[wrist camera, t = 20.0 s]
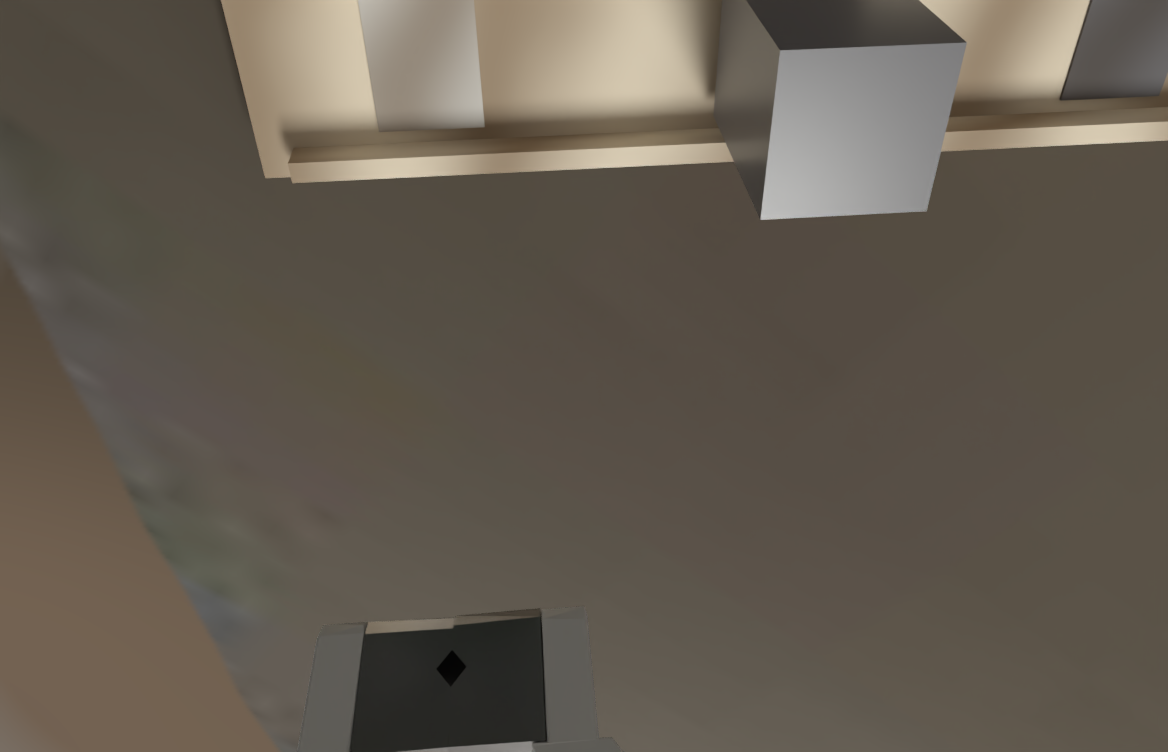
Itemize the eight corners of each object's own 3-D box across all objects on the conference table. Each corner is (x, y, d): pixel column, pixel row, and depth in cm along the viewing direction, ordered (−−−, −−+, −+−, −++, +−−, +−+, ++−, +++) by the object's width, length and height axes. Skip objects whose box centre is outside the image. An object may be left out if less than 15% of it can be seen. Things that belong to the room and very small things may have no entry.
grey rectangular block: (876, -38, 24) (966, 42, 20) (851, 109, 27) (926, 211, 22) (724, -32, 24) (779, 50, 20) (713, 115, 27) (760, 219, 22)
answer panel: (1313, -137, 26) (1394, -114, 24) (1212, 104, 31) (1272, 144, 28) (218, -101, 25) (190, -72, 22) (277, 148, 29) (258, 194, 27)
